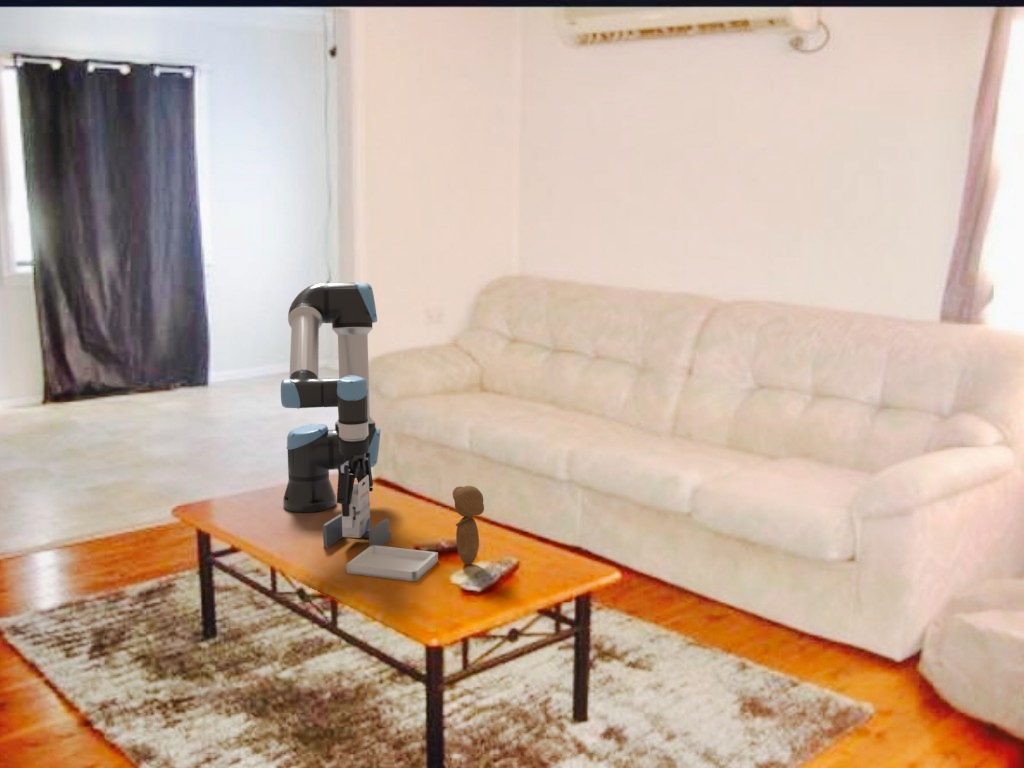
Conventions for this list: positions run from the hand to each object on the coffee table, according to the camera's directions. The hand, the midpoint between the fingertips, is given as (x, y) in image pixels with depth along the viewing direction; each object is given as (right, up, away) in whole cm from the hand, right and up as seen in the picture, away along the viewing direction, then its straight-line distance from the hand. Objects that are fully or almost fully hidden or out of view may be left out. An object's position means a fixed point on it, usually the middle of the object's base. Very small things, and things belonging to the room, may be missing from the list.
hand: (356, 521), depth 269 cm
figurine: (+30, -9, -14) cm, 34 cm away
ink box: (0, -3, +1) cm, 3 cm away
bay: (0, -6, +1) cm, 6 cm away
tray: (+11, -9, -16) cm, 22 cm away
